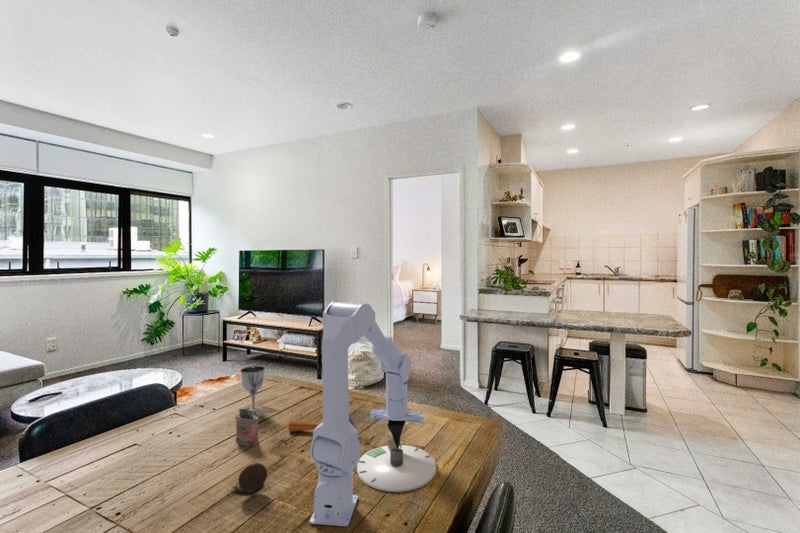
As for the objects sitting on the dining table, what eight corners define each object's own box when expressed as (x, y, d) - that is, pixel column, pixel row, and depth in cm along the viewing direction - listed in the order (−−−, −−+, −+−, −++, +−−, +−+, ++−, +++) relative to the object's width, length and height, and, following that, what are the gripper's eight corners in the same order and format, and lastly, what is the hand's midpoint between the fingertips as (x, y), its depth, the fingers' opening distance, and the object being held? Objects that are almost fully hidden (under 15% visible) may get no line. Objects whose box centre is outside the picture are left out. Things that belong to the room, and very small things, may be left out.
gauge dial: (435, 494, 87) (435, 489, 87) (348, 488, 89) (348, 483, 89) (436, 450, 107) (436, 446, 107) (366, 446, 109) (366, 442, 109)
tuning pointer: (404, 465, 97) (404, 453, 97) (391, 467, 96) (391, 455, 96) (394, 445, 107) (394, 434, 107) (383, 446, 106) (383, 436, 106)
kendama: (294, 414, 123) (355, 413, 119) (294, 434, 121) (356, 433, 118) (286, 418, 117) (349, 417, 114) (286, 439, 116) (350, 438, 113)
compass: (259, 475, 95) (258, 446, 95) (267, 492, 88) (267, 460, 88) (224, 486, 90) (223, 456, 90) (230, 504, 84) (229, 471, 84)
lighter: (232, 441, 112) (232, 407, 112) (242, 436, 115) (242, 403, 115) (252, 447, 109) (251, 412, 108) (261, 442, 112) (261, 408, 111)
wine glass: (240, 409, 136) (240, 367, 135) (264, 405, 139) (263, 364, 139) (241, 418, 129) (241, 373, 128) (266, 413, 132) (266, 370, 132)
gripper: (425, 393, 106) (426, 442, 106) (375, 389, 109) (376, 436, 109) (421, 403, 99) (421, 455, 99) (367, 398, 102) (368, 449, 103)
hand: (397, 446), depth 104 cm, fingers closed, pressing on tuning pointer
